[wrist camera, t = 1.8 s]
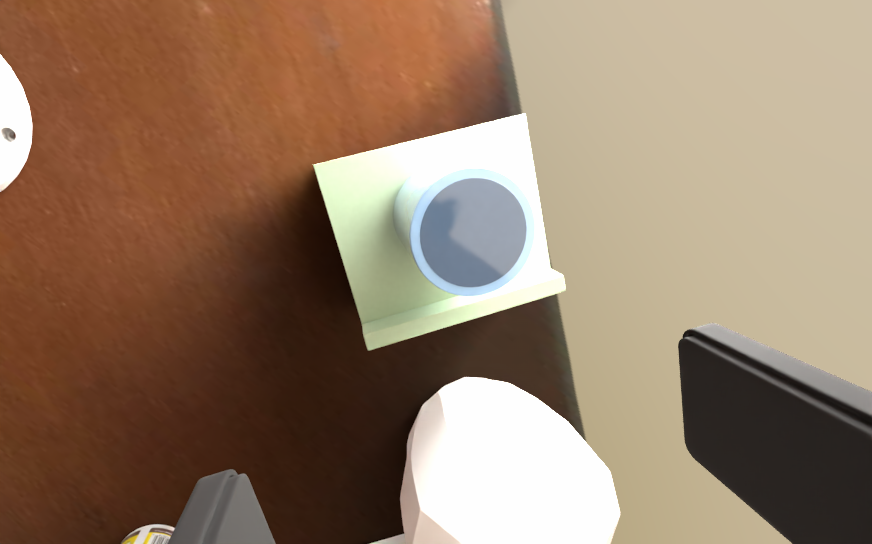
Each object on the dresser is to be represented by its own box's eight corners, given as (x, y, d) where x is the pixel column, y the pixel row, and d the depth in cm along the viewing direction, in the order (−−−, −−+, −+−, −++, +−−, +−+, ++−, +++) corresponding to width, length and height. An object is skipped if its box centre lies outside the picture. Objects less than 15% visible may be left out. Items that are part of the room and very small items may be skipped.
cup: (381, 178, 28) (394, 185, 20) (476, 154, 28) (524, 152, 21) (406, 272, 29) (427, 312, 22) (494, 247, 30) (545, 277, 23)
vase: (440, 505, 43) (559, 926, 19) (355, 406, 39) (372, 795, 15) (557, 421, 43) (814, 734, 20) (486, 314, 39) (706, 550, 15)
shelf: (319, 164, 33) (310, 165, 25) (491, 122, 35) (538, 109, 26) (362, 307, 37) (368, 351, 28) (517, 262, 38) (566, 291, 30)
